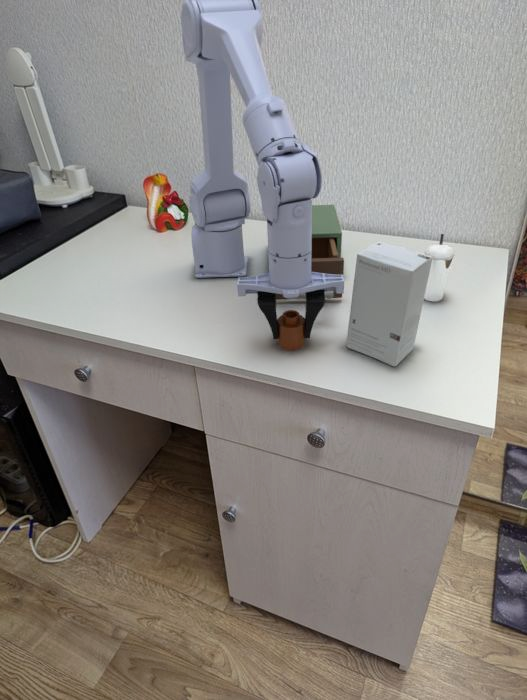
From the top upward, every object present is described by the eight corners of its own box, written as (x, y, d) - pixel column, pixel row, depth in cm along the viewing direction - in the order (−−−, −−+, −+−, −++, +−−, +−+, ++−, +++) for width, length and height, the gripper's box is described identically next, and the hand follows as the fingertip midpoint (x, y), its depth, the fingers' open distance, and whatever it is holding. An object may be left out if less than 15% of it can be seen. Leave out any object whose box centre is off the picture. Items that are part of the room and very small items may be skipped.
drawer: (346, 319, 77) (349, 280, 73) (273, 321, 77) (271, 282, 73) (334, 262, 93) (336, 228, 89) (274, 264, 94) (273, 230, 90)
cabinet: (339, 277, 90) (342, 232, 85) (271, 279, 90) (269, 235, 86) (332, 245, 102) (334, 204, 97) (271, 247, 102) (270, 206, 97)
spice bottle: (278, 351, 72) (277, 322, 69) (278, 335, 75) (277, 307, 72) (305, 350, 72) (305, 321, 69) (304, 335, 75) (304, 306, 72)
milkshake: (447, 290, 84) (457, 234, 79) (445, 305, 80) (456, 248, 74) (419, 287, 86) (428, 232, 80) (416, 301, 82) (425, 245, 76)
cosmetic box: (345, 348, 72) (351, 253, 63) (366, 330, 75) (375, 238, 67) (398, 369, 67) (412, 270, 59) (418, 348, 71) (434, 252, 62)
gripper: (232, 264, 62) (240, 352, 70) (348, 260, 61) (343, 349, 69) (236, 241, 68) (243, 325, 75) (342, 238, 67) (338, 322, 75)
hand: (291, 335), depth 73 cm, fingers closed on spice bottle, 4 cm apart
